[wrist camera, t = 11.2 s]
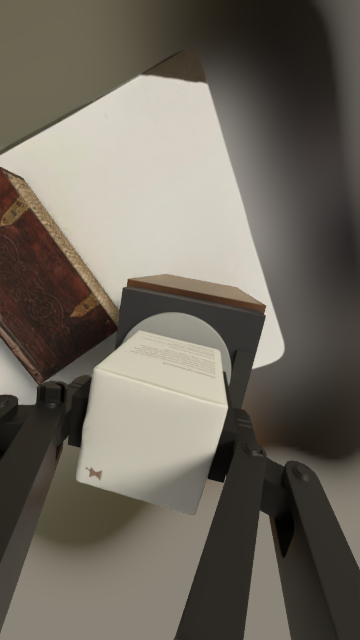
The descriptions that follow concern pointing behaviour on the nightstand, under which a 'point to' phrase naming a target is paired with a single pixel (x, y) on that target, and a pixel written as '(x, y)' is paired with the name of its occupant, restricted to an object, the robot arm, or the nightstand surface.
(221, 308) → the scale
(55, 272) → the hardback book
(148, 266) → the nightstand surface
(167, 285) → the riser
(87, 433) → the product box
